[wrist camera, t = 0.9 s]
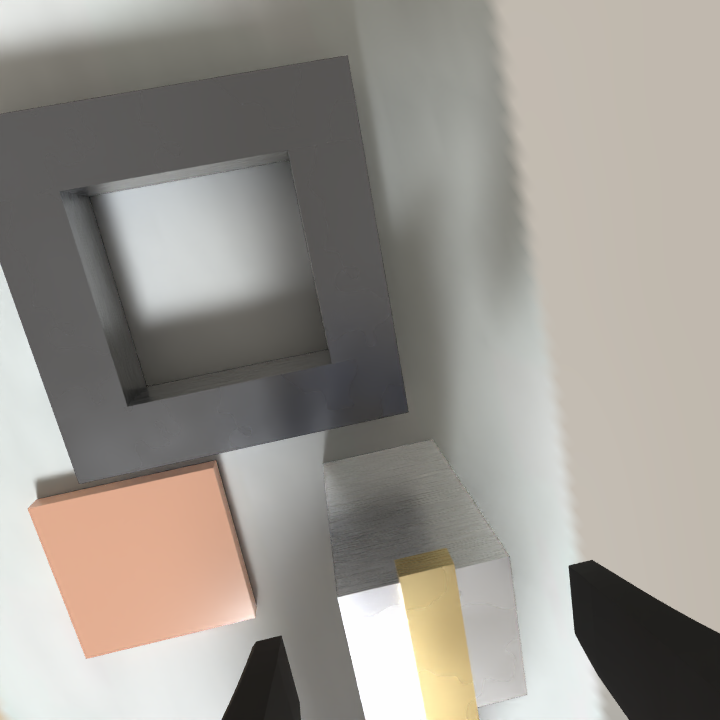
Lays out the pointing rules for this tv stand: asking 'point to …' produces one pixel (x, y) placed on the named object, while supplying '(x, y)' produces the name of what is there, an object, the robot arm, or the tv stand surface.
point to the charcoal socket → (99, 292)
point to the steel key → (421, 588)
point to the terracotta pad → (146, 558)
